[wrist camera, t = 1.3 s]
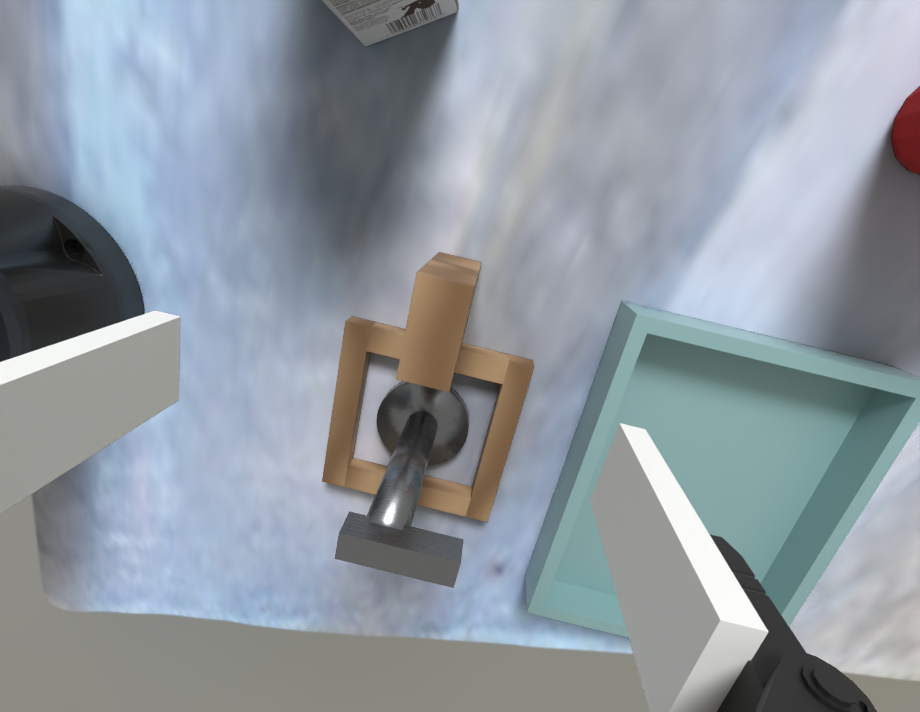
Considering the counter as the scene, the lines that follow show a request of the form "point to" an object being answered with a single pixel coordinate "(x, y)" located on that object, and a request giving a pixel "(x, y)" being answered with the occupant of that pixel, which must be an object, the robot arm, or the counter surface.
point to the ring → (428, 384)
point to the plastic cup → (908, 133)
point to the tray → (726, 454)
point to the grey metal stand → (409, 487)
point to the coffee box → (388, 16)
